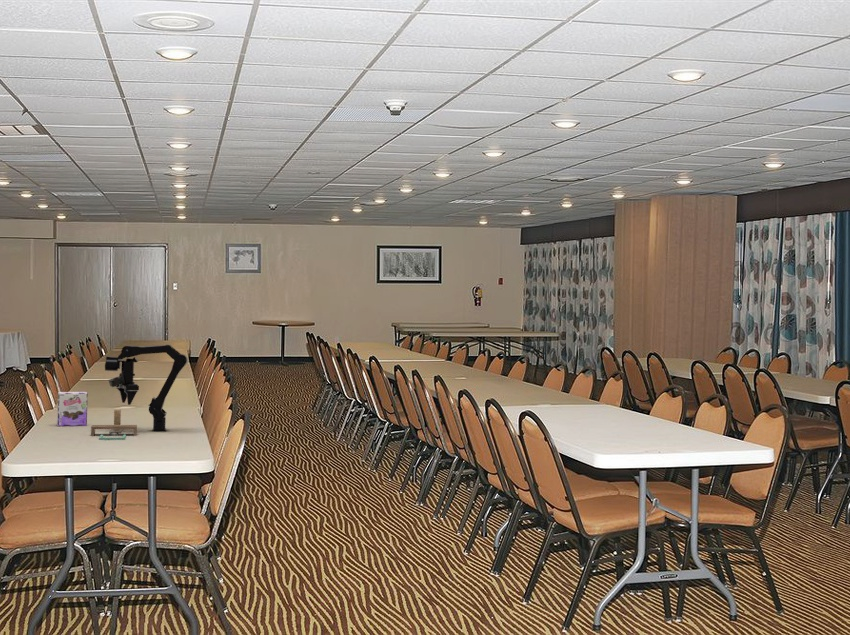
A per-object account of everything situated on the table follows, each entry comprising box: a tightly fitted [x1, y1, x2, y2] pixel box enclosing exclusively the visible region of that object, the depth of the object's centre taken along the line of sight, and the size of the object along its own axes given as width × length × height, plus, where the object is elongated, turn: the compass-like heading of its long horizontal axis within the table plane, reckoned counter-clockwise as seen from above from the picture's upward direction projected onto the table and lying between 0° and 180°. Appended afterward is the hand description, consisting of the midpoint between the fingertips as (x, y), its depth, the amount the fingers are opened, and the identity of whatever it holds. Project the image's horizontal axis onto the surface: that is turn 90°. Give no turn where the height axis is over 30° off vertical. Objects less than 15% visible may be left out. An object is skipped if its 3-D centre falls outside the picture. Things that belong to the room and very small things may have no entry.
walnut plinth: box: [90, 424, 138, 437], centre depth 462 cm, size 6×20×4 cm, turn 104°
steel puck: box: [109, 431, 120, 436], centre depth 462 cm, size 4×4×2 cm
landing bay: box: [98, 434, 127, 441], centre depth 452 cm, size 11×11×1 cm
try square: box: [108, 409, 123, 434], centre depth 478 cm, size 22×5×9 cm, turn 14°
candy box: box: [56, 391, 89, 427], centre depth 490 cm, size 14×6×16 cm, turn 112°
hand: (126, 403), depth 478 cm, fingers open, 9 cm apart
